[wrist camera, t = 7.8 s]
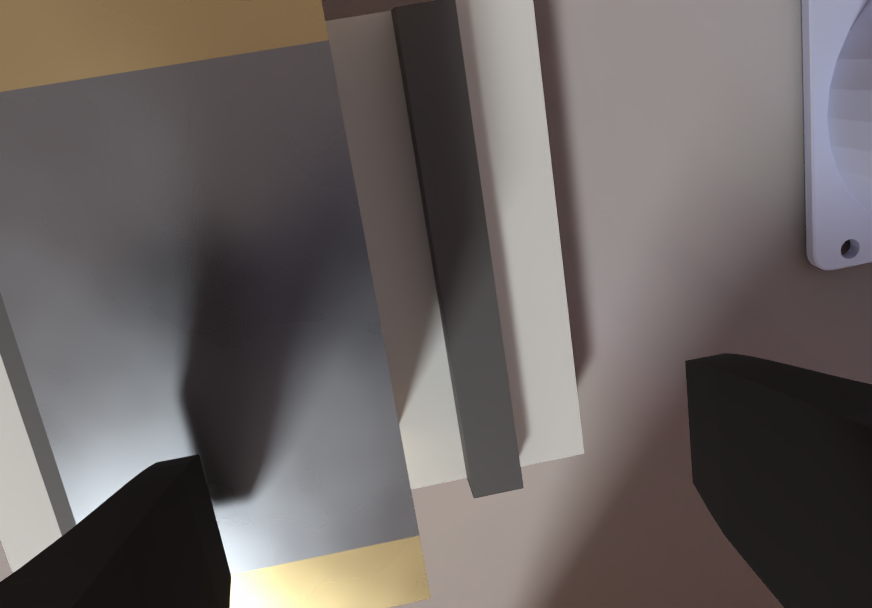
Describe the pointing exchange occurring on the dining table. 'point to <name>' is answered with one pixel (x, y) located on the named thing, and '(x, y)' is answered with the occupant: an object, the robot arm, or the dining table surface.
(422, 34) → the stand
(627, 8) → the dining table surface
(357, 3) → the dining table surface
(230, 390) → the housing
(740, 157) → the dining table surface
